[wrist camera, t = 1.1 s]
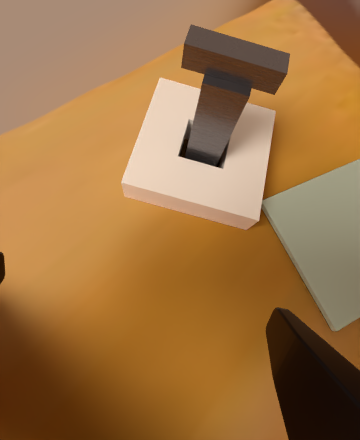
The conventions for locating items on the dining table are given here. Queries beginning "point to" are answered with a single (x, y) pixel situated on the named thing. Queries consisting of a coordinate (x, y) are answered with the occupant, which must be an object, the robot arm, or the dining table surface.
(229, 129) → the t key
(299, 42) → the dining table surface
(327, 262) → the pad
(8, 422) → the dining table surface
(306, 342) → the robot arm
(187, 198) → the socket block
